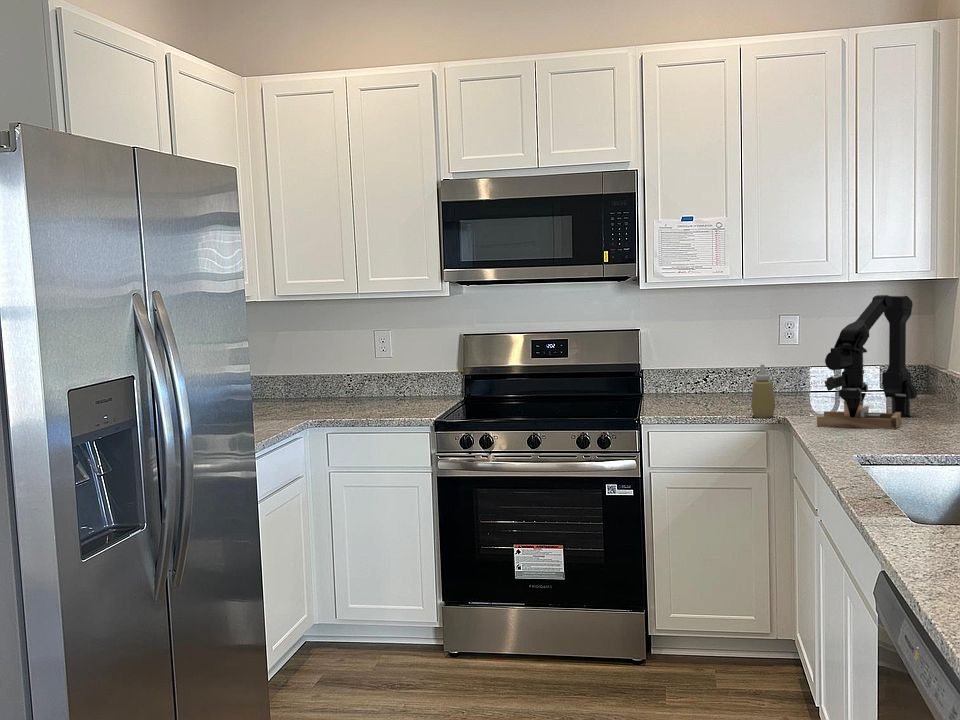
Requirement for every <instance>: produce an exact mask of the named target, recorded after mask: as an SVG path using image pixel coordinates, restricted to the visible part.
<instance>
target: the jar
mask: <svg viewBox="0 0 960 720" xmlns="http://www.w3.org/2000/svg"><path fill="white" fill-rule="evenodd" d="M863 408H864V400H863V401H861V402H860V404H859V407H858V410H857V412H856V415H855V418H861V409H863ZM843 412H844V417H850V414H849V410H848V406H847V403H846V401H845V400H843Z"/></svg>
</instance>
